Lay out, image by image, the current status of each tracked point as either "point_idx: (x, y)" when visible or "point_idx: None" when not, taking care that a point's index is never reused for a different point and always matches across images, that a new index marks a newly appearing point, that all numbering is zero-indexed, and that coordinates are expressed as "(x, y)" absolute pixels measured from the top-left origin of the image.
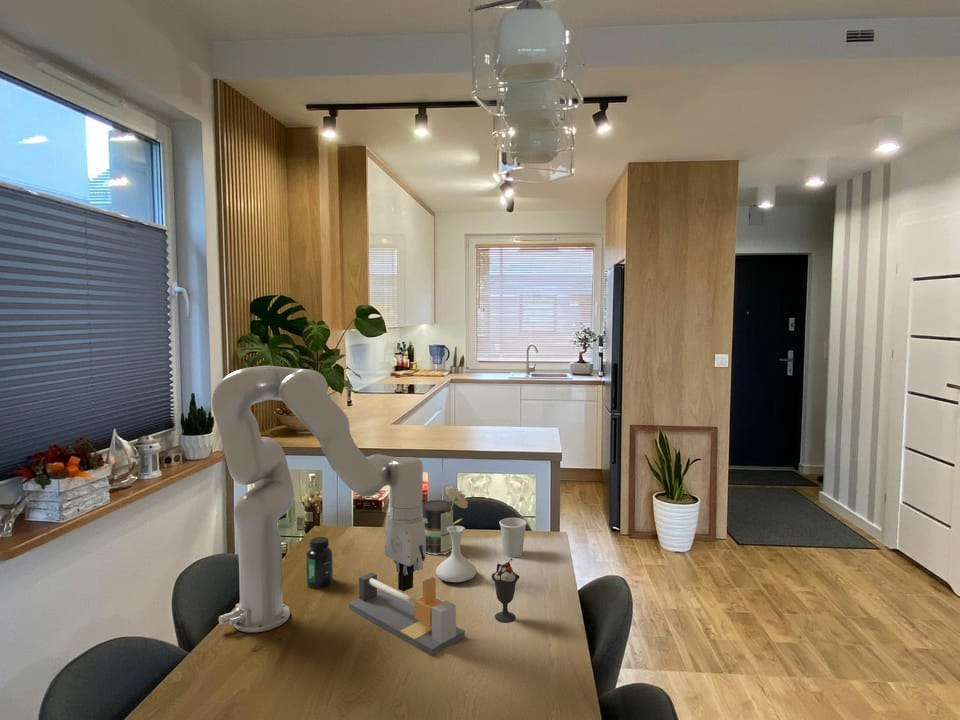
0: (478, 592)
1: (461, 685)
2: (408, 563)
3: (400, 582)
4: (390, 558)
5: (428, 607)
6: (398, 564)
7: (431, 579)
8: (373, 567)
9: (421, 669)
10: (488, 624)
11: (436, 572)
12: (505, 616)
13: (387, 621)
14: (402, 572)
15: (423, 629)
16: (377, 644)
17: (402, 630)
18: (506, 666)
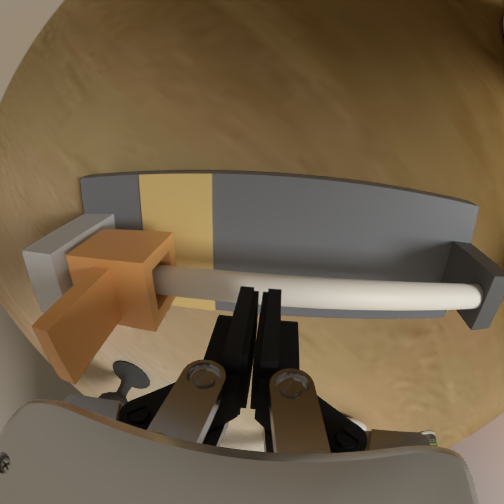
0: (242, 417)
1: (14, 158)
2: (29, 413)
3: (259, 317)
4: (367, 453)
5: (71, 256)
6: (283, 425)
7: (52, 363)
8: (490, 359)
9: (73, 122)
10: (126, 346)
11: (357, 424)
12: (121, 373)
13: (302, 191)
14: (259, 379)
15: (162, 231)
16: (244, 96)
17: (206, 181)
18: (19, 252)
